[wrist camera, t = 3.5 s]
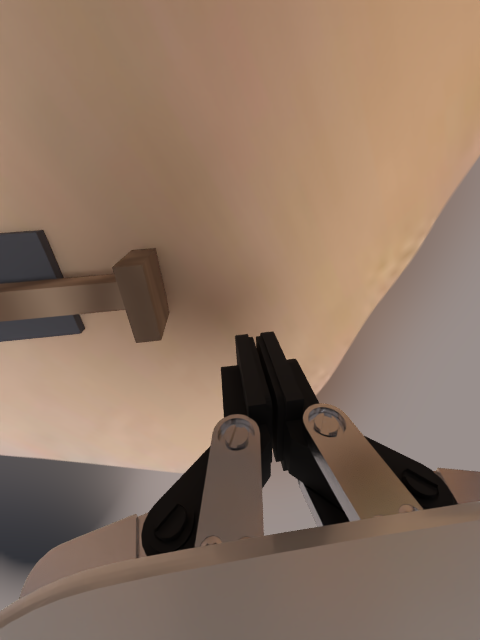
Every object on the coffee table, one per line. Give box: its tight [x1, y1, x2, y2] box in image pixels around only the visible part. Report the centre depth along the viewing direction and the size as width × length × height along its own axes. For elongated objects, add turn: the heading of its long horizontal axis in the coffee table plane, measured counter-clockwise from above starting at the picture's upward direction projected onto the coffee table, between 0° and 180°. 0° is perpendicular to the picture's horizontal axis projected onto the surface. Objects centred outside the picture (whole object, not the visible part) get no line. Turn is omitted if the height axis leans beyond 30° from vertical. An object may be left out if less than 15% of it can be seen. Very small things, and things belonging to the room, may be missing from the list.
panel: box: [0, 230, 85, 342], centre depth 18 cm, size 8×8×1 cm
